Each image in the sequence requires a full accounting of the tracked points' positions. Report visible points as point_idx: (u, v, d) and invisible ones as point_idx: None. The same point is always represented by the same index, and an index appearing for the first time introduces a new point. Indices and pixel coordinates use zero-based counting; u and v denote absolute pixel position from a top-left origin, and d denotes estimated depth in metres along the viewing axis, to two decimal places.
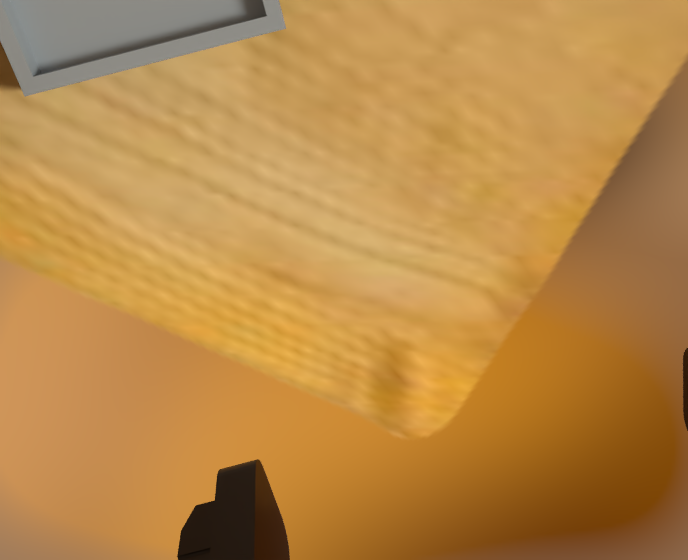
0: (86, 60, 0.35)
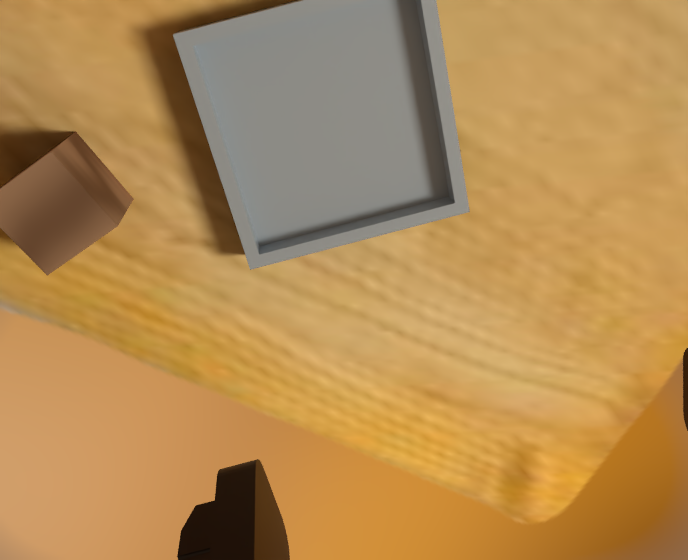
0: (297, 235, 0.41)
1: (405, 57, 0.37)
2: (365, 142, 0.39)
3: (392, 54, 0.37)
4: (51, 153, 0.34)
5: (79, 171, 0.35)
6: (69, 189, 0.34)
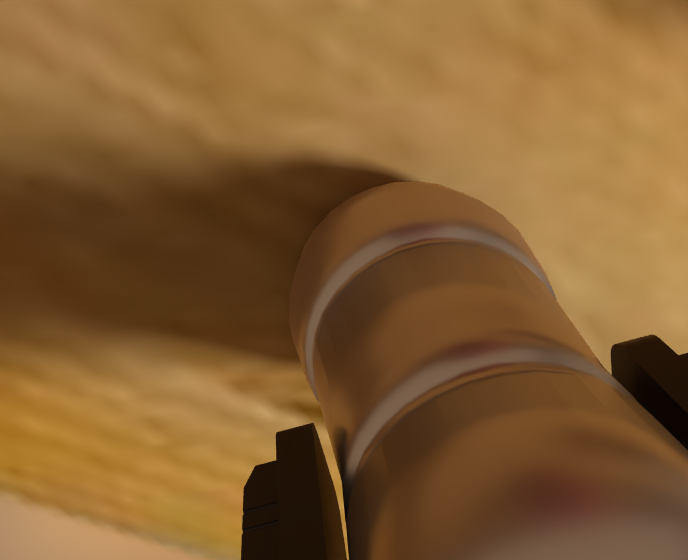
0: None
1: None
2: None
3: None
4: None
5: None
6: None
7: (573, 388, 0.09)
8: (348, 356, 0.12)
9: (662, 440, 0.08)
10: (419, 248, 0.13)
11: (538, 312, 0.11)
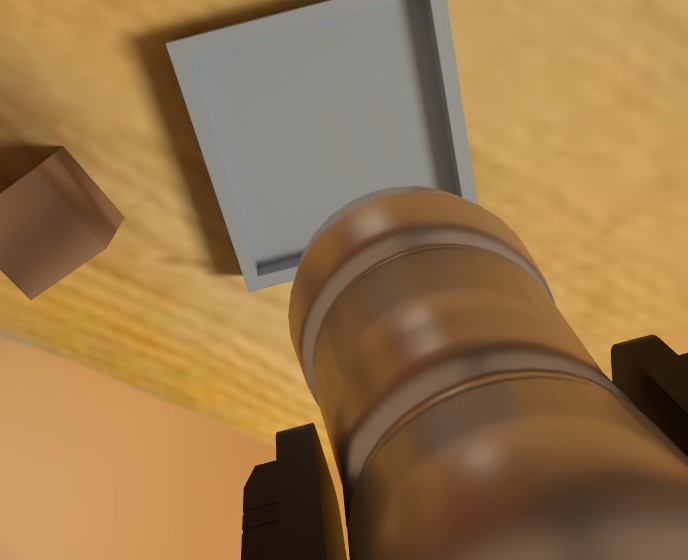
0: (298, 255, 0.39)
1: (414, 68, 0.35)
2: (370, 158, 0.37)
3: (400, 64, 0.35)
4: (35, 171, 0.31)
5: (66, 190, 0.33)
6: (54, 209, 0.32)
7: (573, 394, 0.09)
8: (348, 361, 0.12)
9: (661, 446, 0.08)
10: (419, 253, 0.13)
11: (537, 317, 0.11)
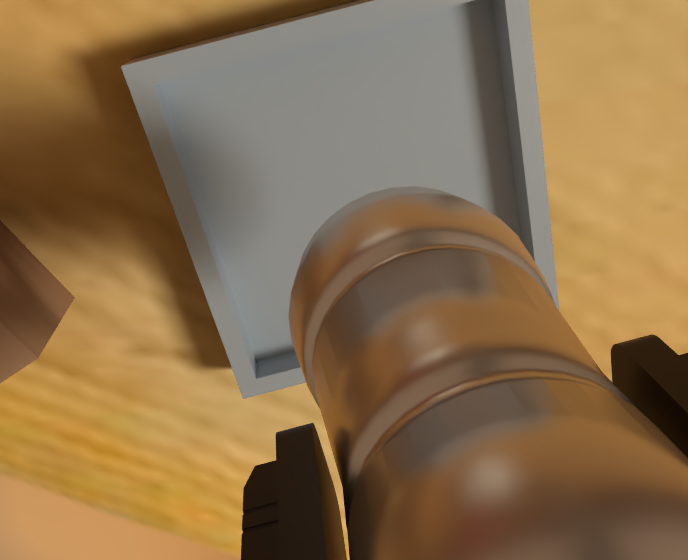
0: None
1: (474, 97, 0.25)
2: None
3: (455, 92, 0.25)
4: None
5: None
6: None
7: (572, 395, 0.09)
8: (348, 362, 0.12)
9: (661, 447, 0.08)
10: (419, 254, 0.13)
11: (537, 318, 0.11)
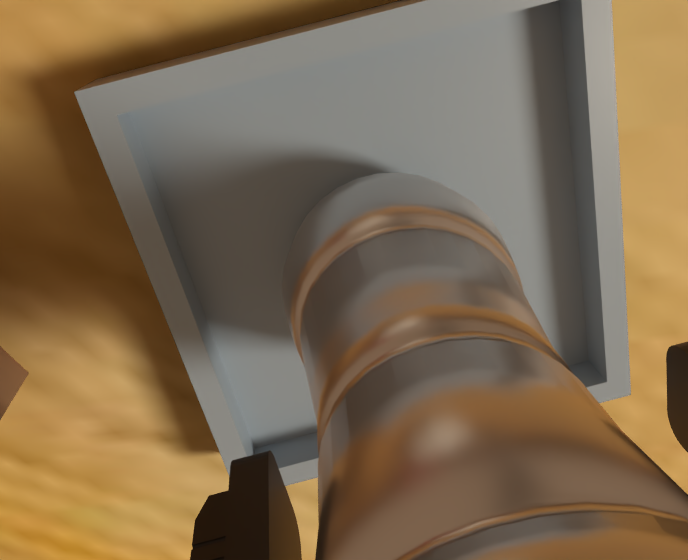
0: None
1: (532, 127, 0.20)
2: None
3: (508, 122, 0.19)
4: None
5: None
6: None
7: (504, 352, 0.11)
8: (326, 327, 0.14)
9: (571, 394, 0.10)
10: (393, 233, 0.15)
11: (490, 290, 0.13)
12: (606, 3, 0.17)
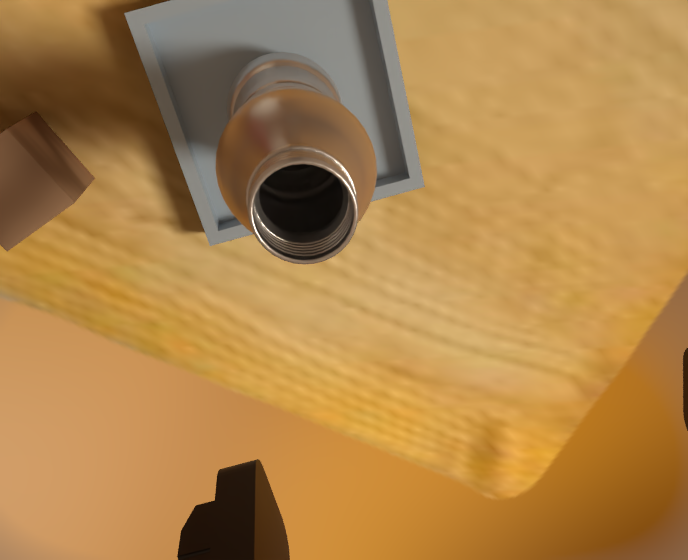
0: None
1: (356, 34, 0.38)
2: None
3: (343, 31, 0.38)
4: (7, 130, 0.34)
5: (37, 149, 0.36)
6: (26, 166, 0.35)
7: (297, 84, 0.29)
8: (240, 101, 0.32)
9: None
10: (271, 67, 0.33)
11: (306, 80, 0.32)
12: None
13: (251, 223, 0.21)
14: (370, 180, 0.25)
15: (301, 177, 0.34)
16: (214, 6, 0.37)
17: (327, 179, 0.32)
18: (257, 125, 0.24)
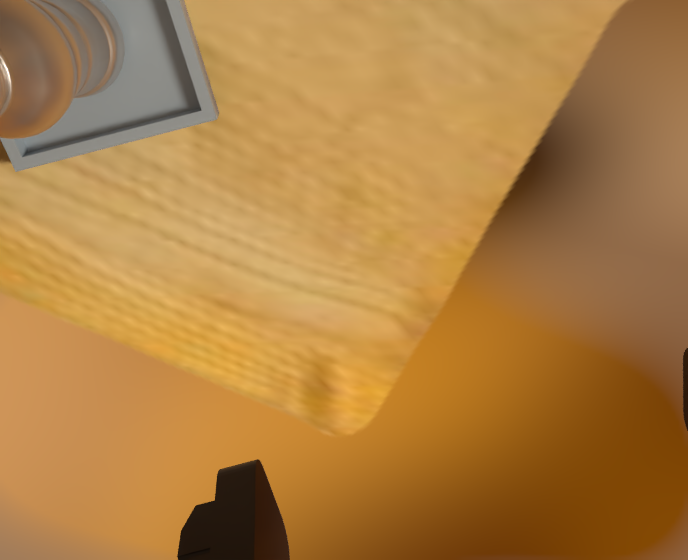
0: (63, 142, 0.45)
1: None
2: None
3: None
4: None
5: None
6: None
7: None
8: None
9: (39, 3, 0.31)
10: None
11: (55, 0, 0.35)
12: None
13: None
14: (54, 71, 0.28)
15: None
16: None
17: None
18: None
